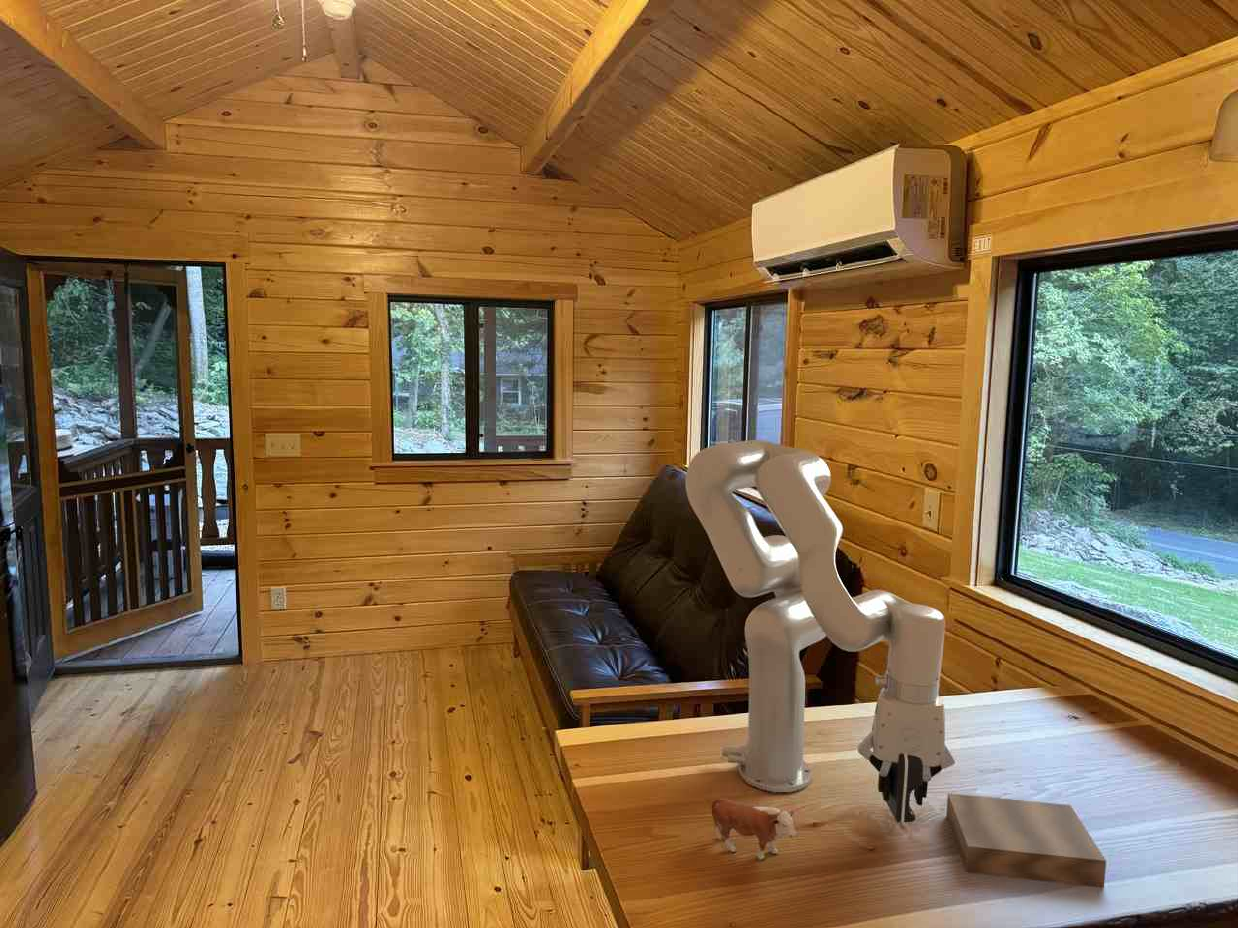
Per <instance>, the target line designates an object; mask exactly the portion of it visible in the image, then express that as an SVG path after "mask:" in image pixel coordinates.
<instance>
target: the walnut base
mask: <svg viewBox="0 0 1238 928" xmlns="http://www.w3.org/2000/svg"><path fill="white" fill-rule="evenodd" d="M946 797H947V800H946V812H945V813H946V814H945V815H946V817H945V818H946V819H947V822H948V824H949V827H950V830H951V831H950V832H951V833H952V835H953V839H954V842H955V844H956V848H957V850H958V852H959V853H958V854H959V855H960V858H961V861H962V864H963V867H964V869H965V871H966V873H974V874H980V875H981V874H983V875H990V876H991V875H992V876H998V877H999V876H1001V877H1009V878H1017V879H1027V880H1035V881H1044V882H1051V883H1052V882H1053V883H1061V884H1073V885H1081V886H1089V887H1090V886H1091V887H1097V888H1098V887H1099V888H1105V879H1106V877H1105V876H1106V868H1107V860H1106V858H1105V856H1104V855H1103V854H1102V852H1101V851H1100V849H1099V848H1098V846H1097V844H1096V843H1095V841H1094V839H1093V838H1092V836H1091V835H1090V833H1089V831H1088V830H1087V828H1086V827H1085V825H1084V823H1083V822H1082V821H1081V819H1080V818H1079V816H1078V814H1077V813H1076V811H1075V810H1074V808H1073V807H1072V805H1071V804H1065V803H1064V804H1063V803H1055V802H1054V803H1052V802H1041V801H1032V800H1019V799H1011V798H1010V799H1009V798H999V797H988V796H978V795H969V794H958V793H947V796H946Z"/></svg>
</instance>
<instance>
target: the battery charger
mask: <svg viewBox="0 0 1238 928" xmlns="http://www.w3.org/2000/svg"><path fill="white" fill-rule="evenodd" d="M889 773H890V777H891V783H890V793H889V800H888V801H885V802H886V805H887V807H888V808H889V811H890V812H891V814H892V816H893V818H894V820H895V821H896V822H897V823H900V824H904V823H913V822H915V820H916V814H915V813H914V811H913V809H912V807H911V805H910V802H911V801H910V798H911V793H912V792H914V787H918V786H921V785H922V782H923V764H922V760H921V759H920V758H919V757H917V756H913V755H908V754H906V753H904V754H902V753H900V754H899V760H898V763H893V762H892V763H891V766H890V769H889Z"/></svg>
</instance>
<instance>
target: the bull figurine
mask: <svg viewBox="0 0 1238 928" xmlns="http://www.w3.org/2000/svg"><path fill="white" fill-rule="evenodd" d="M710 807H711V808H710V809H711V816H712V819H713V822H714V829H715V833H716V836H717V837H718V839H719V840H722V839H723V840H724V839H725V840H724V841H725V843H726V845H725V846H726V849H727V848H728V850H729V849H730V850H731V851H733V850H734V851H735V849H736V846H735V845H734V844H733V842H732V841H731V838H730V834H731V833H730V832H731V830H735V832H737V833H738V834H739V835H741V836H742V838H745V837H750V838H751V837H752V838H757V840H758V851H757V853H756V857H758V860H759V859H764V858H765V859H766V857H765V855H764V850H765V849H766V846H767V844H769V849H768V850H769V851H770V852H771V854H772V853H773V854H772V855H774V854H777V855H779V854H778V853H780V852H779V850H778V849H777V848H776V846H775V842H777V841H778V840H780V839H782V838H783V836H785V837H786V836H787V838H789V839H792V838H795V837H797V831H796V830H795V827H794V820H793V815H794V811H795V810H791V811H790V812H788V811H786V810H785V811H781V810H780V809H778V808H776V807H773V806H771V807H767V806H757V805H756V806H755V805H751V804H747V803H743V802H740V801H737V800H731V799H727V798H720V797H718V798H715V799H714V800H713V801H712V803H711V806H710ZM730 850H729V851H730Z"/></svg>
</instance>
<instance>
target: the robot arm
mask: <svg viewBox="0 0 1238 928" xmlns="http://www.w3.org/2000/svg"><path fill="white" fill-rule="evenodd" d="M831 480H832V479H831V471H830V469H829V467H828V465H827V463H826V462H825V460H823V458H821V457H820V456H819V455H817V454H815V453H813V452H811V451H808V450H806V449H805V450H803V449H799V448H796V447H791V446H786V445H784V444H783V445H782V444H779V443H774V442H770V441H766V440H760V439H749V440H741V441H735V442H734V441H733V442H725V443H719V444H713V445H711V446H708V447H705V448H704V449H701V450H700V451H698V452H697V453H696V454H695V455H694V456H693V457H692V459H691V460H690V462H689V464H688V466H687V470H686V474H685V481H684V482H685V483H684V484H685V491H686V495H687V500H688V501H689V504H690V506H691V508H692V510H693V512H694V513H695V515H696V518H698V520H699V521H700V523H701V525H702V527H703V529H704V530H705V532H706V533H707V536H708V538H709V540H710V542H711V545H712V547H713V549H714V551H715V554H716V556H717V558H718V560H719V562H720V565H721V567H722V568H723V571H724V573H725V575H726V577H727V580H728V581H729V584H730V585H731V587H732V588H733V590H734V591H735V592H736V593H737V594H738V595H739V596H741V597H743V598H754V597H759V596H762V595H765V594H768V593H771V592H773V593H774V595H775V598H772V599H769V600H767V601H765V602H762V603H761V604H759V605H758V606H756V607H755V608H754V609H752V610H751V612H750V613H749V614H748V616H747V617H746V620H745V625H744V638H745V643H746V649H747V656H748V674H749V675H748V722H747V724H748V725H747V728H748V729H747V730H748V731H747V740H746V741H745V742H746V743H745V745H743V744H742V745H741V744H740V746H733V745H725V744H723V745H722V749H721V751H722V752H721V756H722V757H724V758H727V759H728V761H727V763H729V764H738V774H739V773H740V774H739V776H740V775H741V776H742V778H743V779H744V780H745V781H746V782H748V783H749V784H751V785H752V786H751V785H750V786H751V787H753V786H755V787H757V788H759V789H758V790H761V789H763V790H762V791H764V790H767V791H766V792H769V791H772V792H771V793H776V792H787V793H793V791H794V792H798V791H800V790H803V789H805V788H806V787H807V786H808V785H809V784H810V783H811V781H812V776H813V775H812V769H811V767H810V765H809V764H808V763H807V762H806V761H804V736H805V733H804V732H805V706H806V705H805V704H806V703H805V702H806V678H805V676H806V675H805V671H804V668H803V666H802V664H801V660H800V651H802V650H803V649H805V648H807V647H808V646H811V645H813V644H815V643H817V642H820V641H822V640H823V639H824V638H826V637H827V639H829V640H830V642H831V643H833V644H834V645H835V646H837V647H838V648H839V649H841V650H843V651H847V652H851V653H852V652H860V651H862V650H865V649H867V648H870V647H871V646H874V645H876V644H877V643H880V642H885V641H889V642H888V643H889V644H888V653H887V666H886V670H885V673H884V675H879V676H875V685H876V686H881V687H882V688H881V690H880V691H879V692H880V693H879V695H878V699H877V701H876V705H875V711H874V715H873V719H872V720H873V721H872V726H871V727H872V728H871V731H870V732H869V734H868V735H867V736H866V737H864V738H863V740H862V741H861V742H860V743H859V745H857V752H858V754H859V755H861V756H862V757H863V758H864V759H866V760H868V761H869V763H870V764H871V765H872V766H873V768H875V769H876V770H877V771H878V782H877V790H878V792H879V793H881V795H882V799H883V802H886V801H888V800H889V793H890V783H891V777H890V773H889V769H890V766H891V763H892V762H893V763H898V760H899V754H900V753H902V754H904V753H906V754H908V755H913V756H917V757H919V758H920V759H921V760H922V764H923V782H922V785H921V786H918V787H914V790H913V797H914V799H915V803H916V804H917V805H918V806H923V798H924V799H927V794H928V785H929V783H930V782H931V781H932V778H934V777H935V776H937V774H939V773H941V772H942V770H945V769H947V768H949V767H951V766H954V765H955V762H956V761H955V759H954V757H953V755H952V753H951V752H950V750H949V749H948V746H947V745H946V742H945V741H946V739H945V738H946V715H945V714H946V713H945V704H944V701H943V699H942V697H941V696H940V695H939V691H940V681H941V671H942V663H943V653H944V641H945V631H946V619H945V617H944V614H943V613H941V612H940V611H939V610H938V609H936V608H934V607H932V606H928V605H923V604H917V603H916V604H915V603H912V602H909V601H908V600H905V599H903V598H901V597H900V596H897V595H896V594H894V593H891V592H889V591H886V590H882V589H874V590H873V589H872V590H870V591H867V592H864V593H861V594H859V595H856V596H853V597H852V596H851V595H850V593H849V592H848V590H847V588H846V587H845V585H844V584H843V582H842V580H841V578H840V576H839V572H838V570H837V566H836V552H837V548H838V545H839V542H840V540H841V538H842V536H843V533H844V528H843V525H842V523H841V521H840V520H839V518H838V517H837V515H836V514H835V512H834V511H833V510H832V508H831V507H830V506H829V504H828V502H827V501H826V500H825V498H824V496H823V495H825V494H826V492H828V490H829V489H830V486H831ZM752 487H753V488H754V487H756V490H757V492H758V493H759V496H760V497H761V499H762V500H763V502H764V503H765V505H766V507H767V509H768V510H769V512H770V513H771V515H772V516H773V518H774V519H775V520H776V522H777V524H778V526H779V527H780V528H781V530H782V531H783V533H784V535H779V534H776V535H769V536H765V537H764V536H763V535H762V534H761V532H760V530H759V529H758V527H757V524H756V522H755V519H754V518H753V516H752V514H751V513H750V511H749V510H748V509H747V507H745V506H744V504H743V503H742V502H741V501H739V500H738V499H737V497H735V496H734V494H733V492H734V491H736V490H737V491H738V490H744V489H748V488H752ZM741 776H740V777H741ZM742 778H741V779H742ZM743 779H742V780H743ZM744 780H743V781H744ZM745 781H744V782H745ZM746 782H745V783H746ZM748 783H747V784H748ZM749 784H748V785H749ZM755 787H754V788H755ZM757 788H756V789H757ZM797 790H798V791H797Z"/></svg>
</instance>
